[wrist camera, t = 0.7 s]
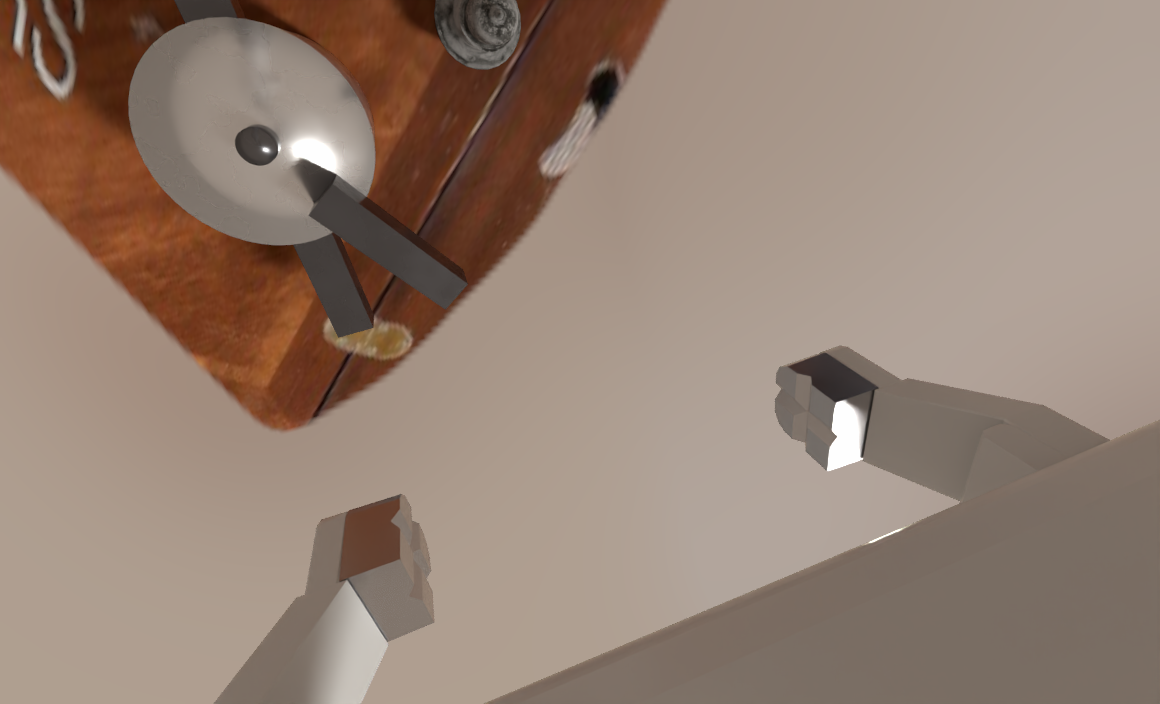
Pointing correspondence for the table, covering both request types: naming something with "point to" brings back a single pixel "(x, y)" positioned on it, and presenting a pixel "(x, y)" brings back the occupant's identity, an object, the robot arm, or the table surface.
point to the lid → (270, 145)
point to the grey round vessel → (478, 30)
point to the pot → (327, 253)
